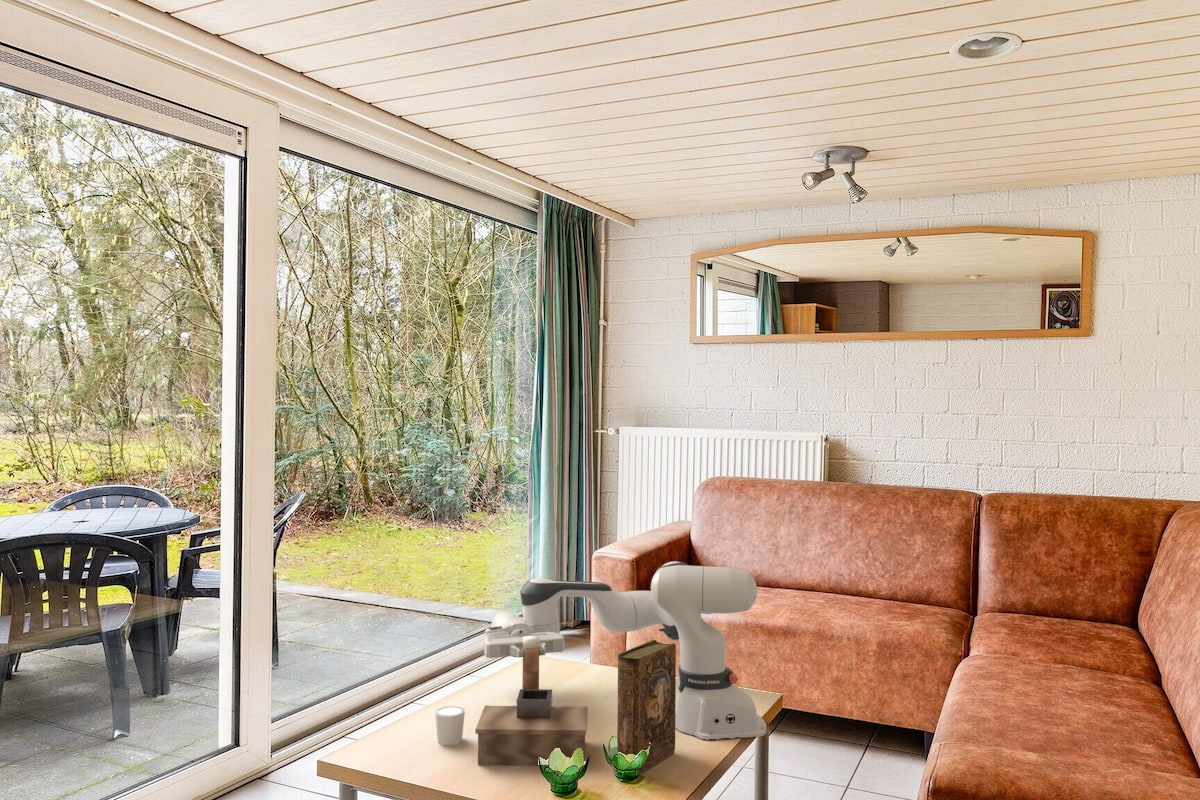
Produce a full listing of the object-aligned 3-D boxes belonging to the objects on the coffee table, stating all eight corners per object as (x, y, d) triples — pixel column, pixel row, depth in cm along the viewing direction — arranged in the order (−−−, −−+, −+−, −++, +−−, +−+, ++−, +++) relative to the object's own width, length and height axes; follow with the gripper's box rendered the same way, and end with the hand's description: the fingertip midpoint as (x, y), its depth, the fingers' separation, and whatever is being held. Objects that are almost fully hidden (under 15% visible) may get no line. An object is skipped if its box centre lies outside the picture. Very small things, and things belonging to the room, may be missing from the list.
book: (635, 779, 182) (636, 660, 182) (613, 772, 185) (614, 655, 185) (675, 753, 195) (676, 642, 195) (654, 747, 199) (655, 638, 199)
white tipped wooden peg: (539, 688, 213) (540, 635, 214) (538, 693, 209) (538, 640, 210) (523, 688, 214) (523, 635, 214) (521, 693, 210) (522, 639, 210)
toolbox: (587, 740, 202) (587, 689, 202) (585, 767, 188) (586, 711, 188) (484, 739, 202) (484, 688, 202) (475, 766, 188) (475, 710, 188)
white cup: (431, 737, 203) (432, 708, 203) (460, 733, 206) (460, 704, 206) (438, 748, 197) (438, 717, 197) (467, 744, 200) (468, 713, 200)
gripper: (556, 647, 227) (572, 662, 214) (479, 654, 220) (491, 670, 207) (556, 623, 227) (572, 636, 214) (479, 629, 220) (491, 643, 207)
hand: (532, 653), depth 211 cm, fingers closed on white tipped wooden peg, 4 cm apart
